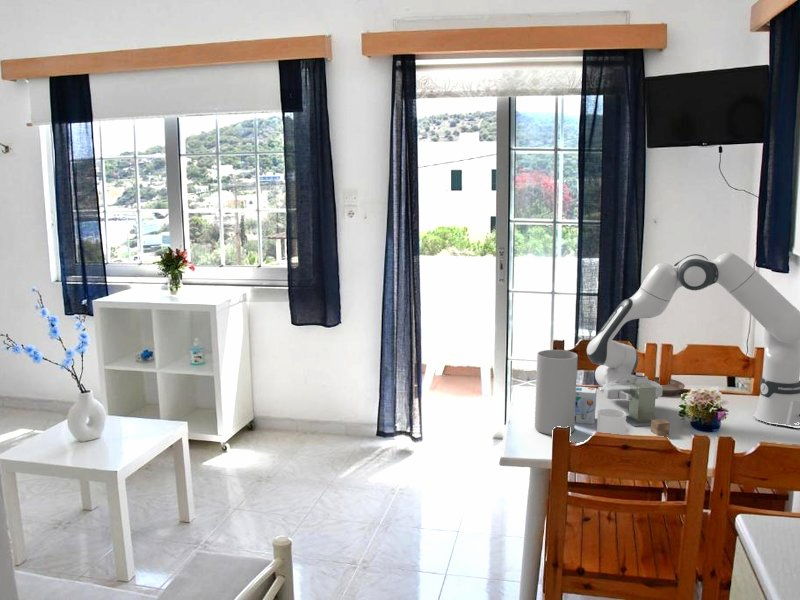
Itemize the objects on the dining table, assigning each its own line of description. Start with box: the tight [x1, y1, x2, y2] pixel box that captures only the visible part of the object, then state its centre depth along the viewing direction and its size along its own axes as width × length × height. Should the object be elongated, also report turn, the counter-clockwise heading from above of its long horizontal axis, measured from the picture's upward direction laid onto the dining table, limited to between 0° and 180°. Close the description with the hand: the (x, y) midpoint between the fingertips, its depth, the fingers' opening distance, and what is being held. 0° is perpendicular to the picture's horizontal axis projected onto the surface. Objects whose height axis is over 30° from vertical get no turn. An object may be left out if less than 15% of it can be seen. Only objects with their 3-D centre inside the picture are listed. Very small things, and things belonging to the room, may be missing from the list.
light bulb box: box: [575, 385, 597, 425], centre depth 248 cm, size 11×7×11 cm, turn 73°
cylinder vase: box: [534, 349, 578, 436], centre depth 237 cm, size 12×12×25 cm
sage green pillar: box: [627, 382, 656, 423], centre depth 247 cm, size 6×6×12 cm
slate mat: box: [626, 415, 656, 428], centre depth 248 cm, size 10×10×1 cm
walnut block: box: [650, 418, 670, 436], centre depth 236 cm, size 4×4×4 cm
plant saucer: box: [654, 376, 686, 396], centre depth 284 cm, size 18×18×3 cm
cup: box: [596, 408, 627, 436], centre depth 227 cm, size 8×12×10 cm
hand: (643, 397), depth 246 cm, fingers open, 8 cm apart
